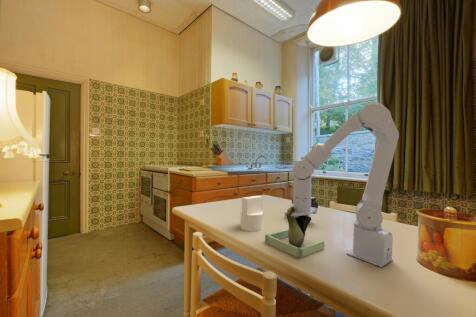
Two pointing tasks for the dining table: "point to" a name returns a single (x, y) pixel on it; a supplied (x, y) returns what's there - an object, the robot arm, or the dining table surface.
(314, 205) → the pneumatic valve
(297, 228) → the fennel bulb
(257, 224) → the cylinder with rectangular tab
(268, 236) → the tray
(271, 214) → the dining table surface
